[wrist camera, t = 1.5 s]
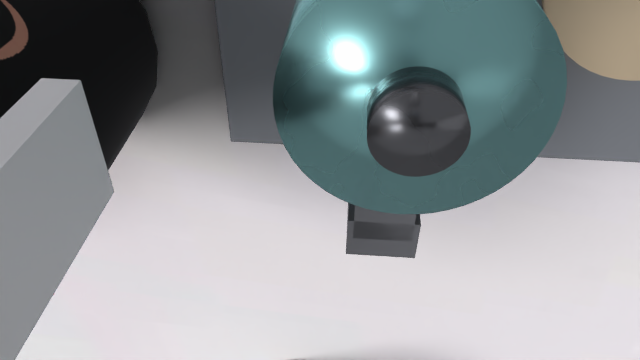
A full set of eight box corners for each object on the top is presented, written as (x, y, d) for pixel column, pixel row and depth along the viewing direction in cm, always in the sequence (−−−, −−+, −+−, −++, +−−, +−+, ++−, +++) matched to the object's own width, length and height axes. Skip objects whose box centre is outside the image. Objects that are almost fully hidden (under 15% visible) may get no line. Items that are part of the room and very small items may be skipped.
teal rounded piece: (297, -234, 12) (243, -220, 7) (559, -230, 12) (714, -211, 7) (302, 147, 19) (276, 302, 14) (467, 155, 19) (506, 317, 14)
